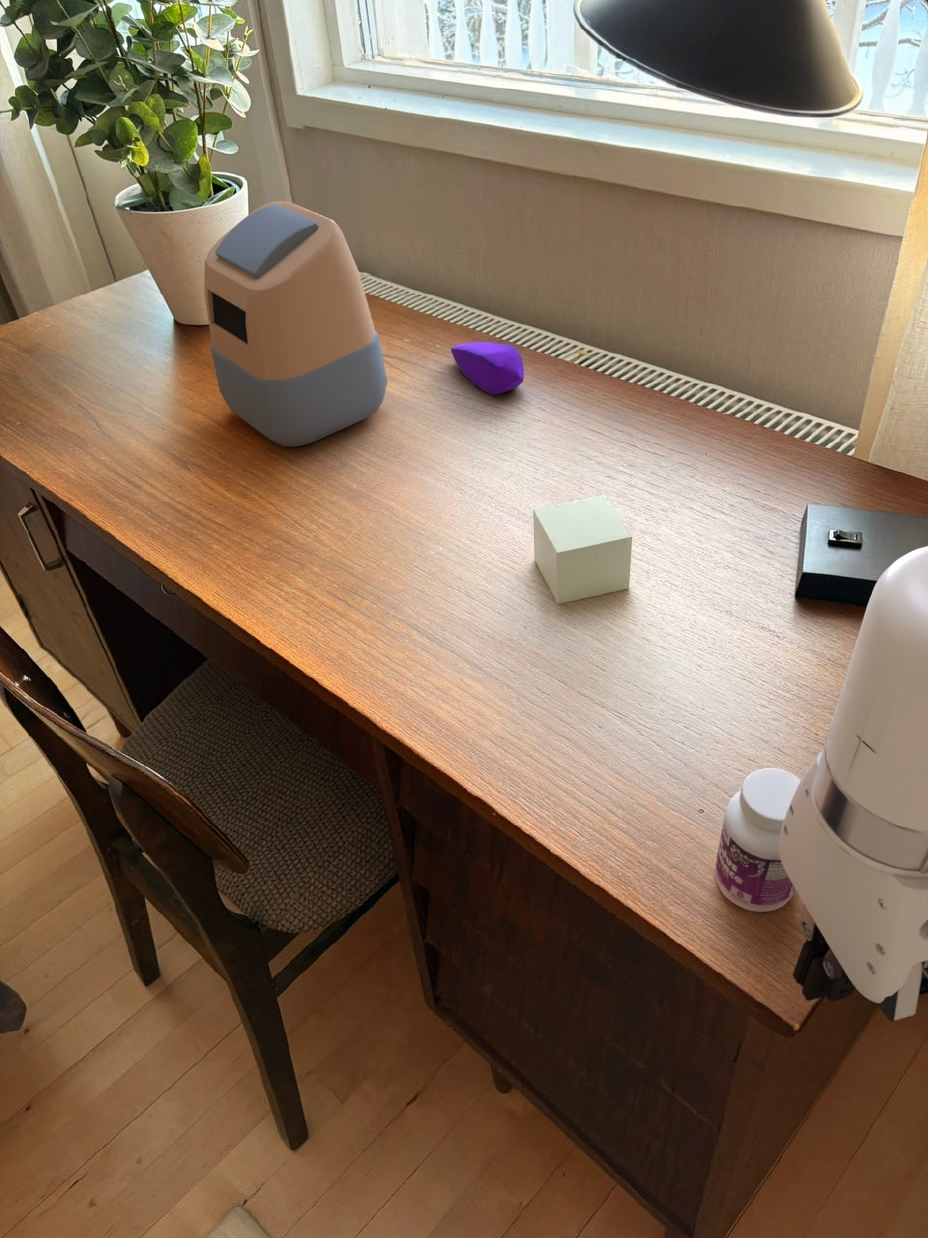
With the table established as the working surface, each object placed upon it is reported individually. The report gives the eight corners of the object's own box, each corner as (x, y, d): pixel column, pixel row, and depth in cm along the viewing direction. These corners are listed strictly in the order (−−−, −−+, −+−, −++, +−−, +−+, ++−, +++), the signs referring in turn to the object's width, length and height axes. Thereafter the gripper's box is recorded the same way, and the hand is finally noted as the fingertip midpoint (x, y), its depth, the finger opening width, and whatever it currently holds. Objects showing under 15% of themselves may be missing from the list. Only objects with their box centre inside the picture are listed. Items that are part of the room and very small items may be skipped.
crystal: (464, 325, 123) (536, 352, 112) (469, 361, 125) (539, 391, 115) (434, 336, 121) (503, 365, 110) (439, 372, 124) (508, 404, 113)
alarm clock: (216, 414, 117) (164, 224, 102) (329, 368, 125) (295, 184, 109) (285, 466, 107) (237, 263, 92) (403, 412, 114) (377, 216, 99)
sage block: (629, 588, 87) (632, 536, 83) (557, 604, 86) (557, 552, 82) (602, 545, 92) (604, 494, 88) (534, 559, 91) (532, 509, 87)
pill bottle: (697, 865, 65) (711, 777, 58) (760, 835, 66) (781, 745, 60) (746, 929, 61) (768, 842, 55) (812, 895, 63) (840, 807, 56)
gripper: (1091, 909, 39) (959, 1091, 51) (882, 663, 49) (815, 862, 62) (927, 957, 37) (832, 1131, 50) (750, 695, 48) (708, 891, 61)
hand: (823, 982), depth 56 cm, fingers closed
